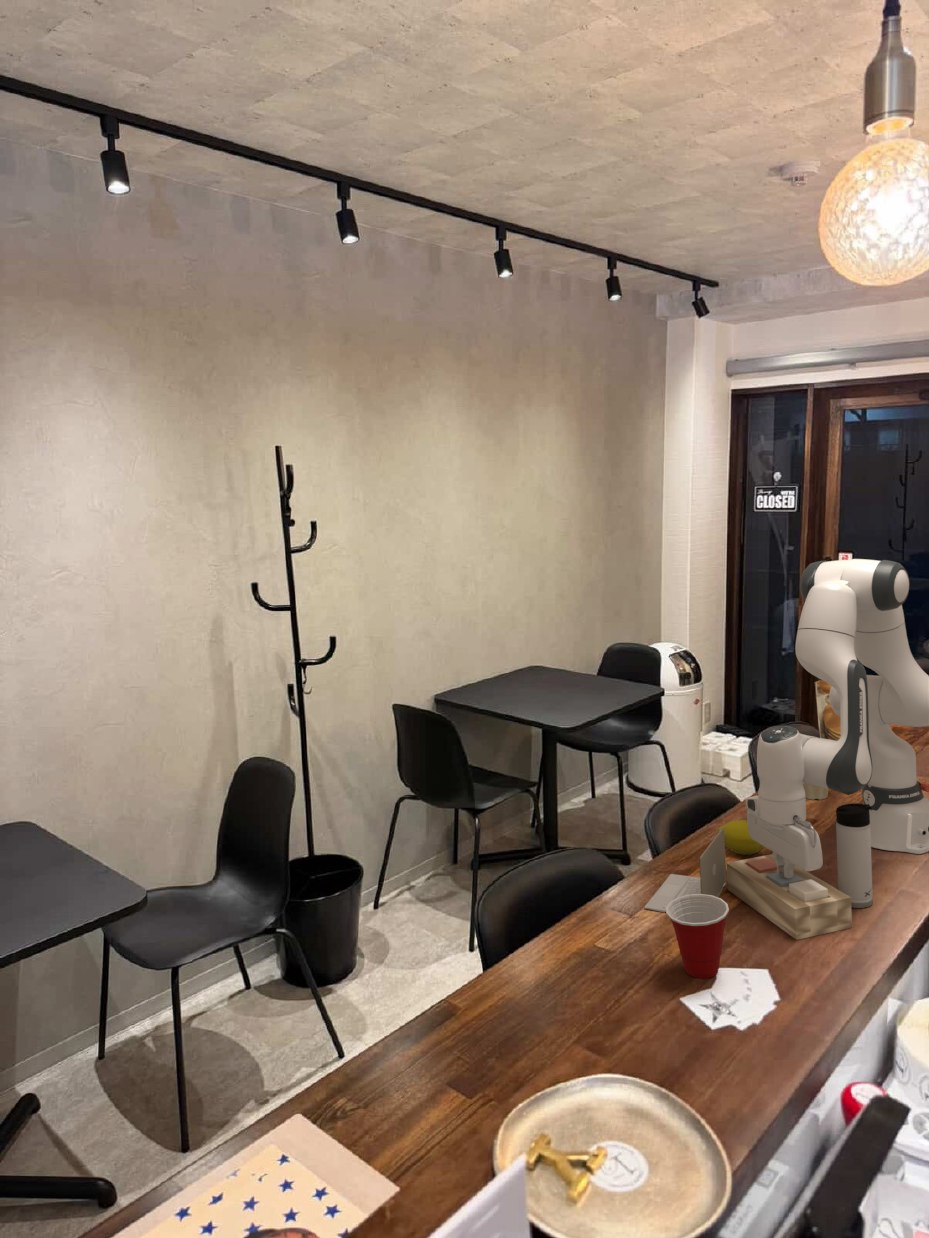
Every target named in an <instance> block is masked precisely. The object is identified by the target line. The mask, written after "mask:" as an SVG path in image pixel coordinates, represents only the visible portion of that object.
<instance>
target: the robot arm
mask: <svg viewBox="0 0 929 1238" xmlns="http://www.w3.org/2000/svg"><path fill="white" fill-rule="evenodd" d="M801 573H802V574H801V576H800V579H799V592H800V595H801V597H802V599H803V601H804V604H803V607H802V610H801V614H800V618H799V622H798V625H797V626H798V627H797V632H796V638H795V656H796V658H797V660H798V662H799V664H800V665H801V667H803V669H805V670H806V671H807V672H808V673H809V674H811V675H813V676H814V677H816V678H818V680H823V681H825V682H827V683H828V684H830V685H831V686H832V687H831V689H830V693H829V701H830V705H831V707H832V709H833V711H834V712H835V713H836V714H837V715H838V716H839V717H841V737H840V739H839V740H838V741H836V740H830V739H823V738H820V737H817V736H813V735H807V734H803V733H800V731H799V730H798V729H797V728H795V727H793V726H790V725H776V726H770V727H767V728H766V729H764V730H763V731H762V732H761V733H760V734H759V737H758V742H757V748H756V771H757V772H756V773H757V774H756V775H757V777H758V779H759V788H758V791H757V793H758V794H757V795H754V796H749V797H746V798H745V807H746V808H747V811H746V820H747V823H748V832H749V835H750V837H751V839H753V840H754V841H756V842H758V843H759V844H761V845H763V848H765V849H768V850H769V851H771V852H772V854H773V857H774V860H775V862H776V865H777V872H778V873H779V874H781V875H782V876H784V877H785V878H792V877H793V869H794V867H795V865H796V866H798V867H800V868H801V869H803V870H805V871H807V872H813V871H816V870H820V869H821V868H822V866H823V864H824V863H823V860H824V859H823V851H822V844H821V840H820V839H821V838H820V836H819V834H818V831H816V829H815V828H814V826H813V824H812V823H811V822H810V821H807V820H806V819H807V803H806V802H807V801H806V799H807V798H806V797H805V790H804V788H803V784H804V783H807V784H810V785H814V786H819V787H824V788H828V790H831V791H834V792H837V793H840V794H844V795H847V796H850V795H851V796H852V795H854V794H855V793H857V792H859V791H862V792H861V794H862V795H861V797H862V800H863V804H864V805H865V804H869V805H870V806H871V808H872V810H869V814H870V830H871V848H874V849H879V850H884V851H892V852H904V853H910V854H917V855H922V854H925V853H928V852H929V799H928V798H927V797H926V796H925V794H924V792H926V793H928V794H929V783H927V782H924V781H923V782H922V783H921V782H920V781H918V780H917V754H916V751H915V750H914V747H913V746H912V745H911V744H910V743H909V742H908V741H906V740H904V739H903V738H901V737H899V736H898V735H896V733H895V732H894V730H892V728H891V726H890V725H896V726H903V727H915V728H923V727H929V674H927V672H925V671H924V670H923V669H922V668H921V666H920V665H919V664H918V663H917V661H916V659H915V658H914V655H913V653H912V651H911V648H910V645H909V639H908V636H907V635H908V634H907V628H906V622H905V614H904V609H903V604H904V603H905V602H906V600H907V599H908V596H909V591H910V576H909V573H908V571H907V570H906V568H905V567H904V566H903V565H902V564H901V563H900V562H897V561H893V560H887V559H882V560H876V559H864V558H852V559H842V560H841V559H840V560H839V559H838V560H831V561H830V560H829V561H828V560H819V561H818V560H817V561H815V562H811V563H809V564H808V565H807V567H806V568H804V570H803V571H802V572H801ZM865 667H866V668H868V669H871V670H872V671H874V673H876V674H877V675H873V674H867V671H866V668H865ZM923 791H924V792H923Z"/></svg>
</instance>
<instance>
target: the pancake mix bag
mask: <svg viewBox="0 0 929 1238" xmlns="http://www.w3.org/2000/svg"><path fill="white" fill-rule="evenodd" d="M814 687H815V700H816V713H817V723H818V724H817V725H818V730H819V738H823V739H830V740H836V741H838V740H839V739H840V737H841V717H839V716H838V715H837V714H836V713H835V712H834V711H833V709H832V707H831V705H830V701H829V693H830V689H831V687H832V686H831V685H830V684H828V683H827V682H825V681H823V680H821V679H818V681H814Z"/></svg>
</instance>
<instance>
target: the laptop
mask: <svg viewBox="0 0 929 1238" xmlns="http://www.w3.org/2000/svg"><path fill="white" fill-rule="evenodd" d="M725 847H726V845H725V842H724V828H722V829H721V830H720V832H719V833H718V832H717V834H716V835H715V837H714V838H713V839H712V840H711V842H710V843H709V845H708V846H707V848H706V849H705V850H704V852H703V853H701V855H700V856H699V858H698V860H699V861H698V863H699V877H696V876H689V875H682V874H676V873H671V874H669V875H668V877H667V878H666V879H665V880H664V882H663V883H662V884H661V886H660V887H659V888H658V889H657V890H656V891H655V893H654V894H653V895H652V897H651V898H650V899H649V901H648V902H647V903H646V904H645V906H644V907H643V909H646V910H649V911H656V912H660V913H665V912H666V907H667V905H668V904H669V903H670V902H671V901H672V900H674V899H676V898H678V897H681V896H685V895H691V894H705V895H713V896H715V897H718V898H719V896H720V894H721V893H722V891H723V889H724V888H723V887H725V886H727V882H728V881H727V862H726V848H725Z"/></svg>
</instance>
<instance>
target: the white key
mask: <svg viewBox="0 0 929 1238" xmlns="http://www.w3.org/2000/svg"><path fill="white" fill-rule="evenodd" d="M789 893H790V894H792V895H793V896H795V897H797V898H798V899H800V900H801V901H803V902H804V903H805V902H810V901H815V900H820V899H825V898H828V889H827V888H825V887H823V886H822V885H820V884H818V883H817V882H815V881H814V880H812V879H810V880H805V881H800V882H795V883H790V884H789Z"/></svg>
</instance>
